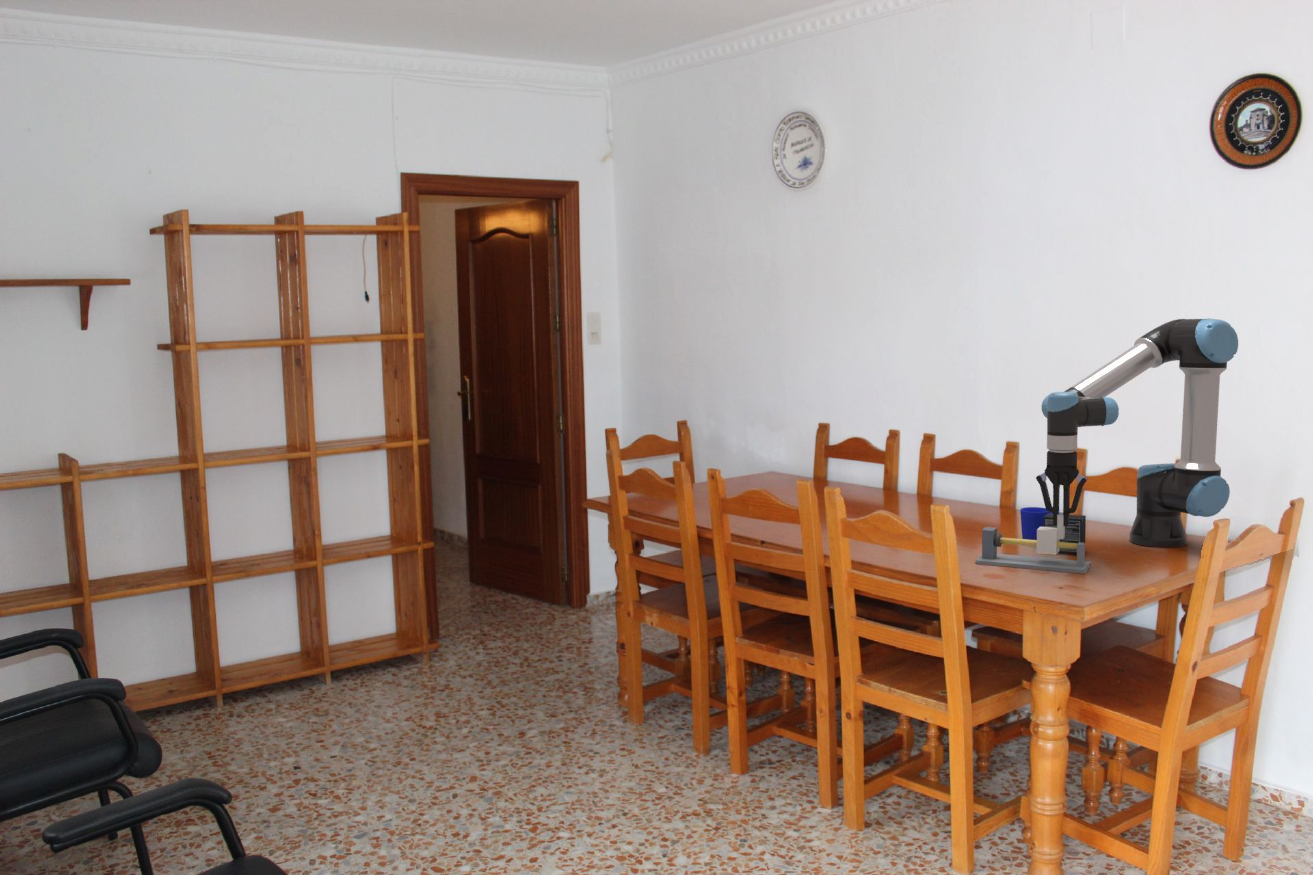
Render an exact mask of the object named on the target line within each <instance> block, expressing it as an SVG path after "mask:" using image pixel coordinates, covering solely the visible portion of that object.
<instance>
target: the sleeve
mask: <svg viewBox="0 0 1313 875" xmlns="http://www.w3.org/2000/svg"><path fill="white" fill-rule="evenodd" d="M1059 540H1060V539H1057V528H1053V527H1039V528H1038V529H1037V546H1036V554H1044V555H1055V556H1056V555H1057V554H1059V553H1058V552H1059V548H1057V542H1059Z"/></svg>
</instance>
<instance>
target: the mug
mask: <svg viewBox="0 0 1313 875" xmlns="http://www.w3.org/2000/svg"><path fill="white" fill-rule="evenodd" d="M1019 511H1020V524H1021V539H1027V540H1037V529H1038V528H1039V527H1044V516H1045V515H1047V514H1048V513H1050V514H1053V513H1052V512H1049V511H1046V508H1045V507H1038V506H1028V507H1027V506H1026V507H1022V508H1021V507H1020V510H1019ZM1059 513H1063V511H1062V512H1061V511H1059Z"/></svg>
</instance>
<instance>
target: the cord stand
mask: <svg viewBox="0 0 1313 875" xmlns="http://www.w3.org/2000/svg"><path fill="white" fill-rule="evenodd" d="M1003 544H1004V545H1005V544H1006V545H1015V546H1016V545H1017V546H1018V545H1020V546H1030V547H1031V546H1032V547H1037V540H1027V539H1022V538H1013V537H1012V538H1011V537H1003V535H1002V533H998V527H991V526H985V527H983V529H982V530H981V555H980V556H979V557H977V559H975V565H985V566H996V567H1007V568H1015V569H1016V568H1019V569H1028V570H1038V571H1039V570H1041V571H1050V572H1060V573H1061V572H1062V573H1063V572H1064V573H1070V574H1072V573H1073V574H1083V575H1084V574H1086V572H1087V571H1088V570H1089V568H1090V567H1091V565H1092V563H1091V562H1092V561H1087V560H1086V558H1085V557H1086V556H1085V555H1086V554H1085V553H1086V542H1085V543H1080V542H1079V543H1065V542H1057V548H1065V549H1077V555H1076V560H1074V559H1065V558H1053V557H1052V558H1051V557H1049V558H1048V557H1040V556H1030V555H1029V556H1028V555H1017V554H1016V555H1015V554H1007V553H1006V554H1005V553H1004V554H1003V553H998V547H999V548H1001V547H1002V545H1003Z"/></svg>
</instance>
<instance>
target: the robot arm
mask: <svg viewBox="0 0 1313 875" xmlns="http://www.w3.org/2000/svg"><path fill="white" fill-rule="evenodd" d="M1238 349H1239V337H1238V334H1237V332H1236V330H1235V328H1234V327H1232V326H1231V324H1230V323H1229V322H1227V321H1225V320H1223V319H1215V318H1210V317H1209V318H1187V319H1186V318H1176V319H1173V320H1169V321H1167V322H1165V323H1163V324H1161V325H1159V326H1157V327H1155V328H1153V329H1152V330H1150V331H1148V332H1146V333H1145V334H1143V335H1142V336H1140V337H1138V338H1137V339H1136V340H1135V341H1134V344H1133V346H1132V347H1130V348H1128V349H1127V350H1125V351H1124V352H1122V353H1121V354H1119V355H1118V356H1117V357H1115V358H1113V359H1111V360H1110V361H1109V362H1107V363H1106V364H1104V365H1103V366H1101V367H1099V368H1098V369H1097V370H1095V371H1094V372H1092V373H1091V374H1089V375H1087V376H1086V377H1083V379H1081V380H1080V381H1078V382H1076V383H1075V384H1073V385H1072V386H1070V387H1069V388H1068V389H1065V390H1064V391H1054V392H1050V393H1049V394H1048V395H1046V396H1045V397H1044V399H1043V400H1042V402H1041V412H1042V415H1043V416H1044V417H1045V418H1046V423H1047V424H1046V432H1047V433H1046V449H1047V450H1048V451H1047V452H1046V468H1045V469H1044V472H1043V473H1041V474H1038V475H1037V476H1036V477H1035V479H1036V481H1037V483H1038V484H1039V487H1040V491H1041V495H1042V499H1043V503H1044V508H1046V511H1049V512H1052V513H1053V525H1054V526H1057V539H1064V537H1065V526H1068V525H1069V515H1071V514H1074V513H1076V511H1077V509H1078V508H1079V507H1078V506H1079V502H1080V499H1081V496H1082V491H1083V488H1084V485H1085V484H1086V483H1087V481H1088V477H1087V476H1083V475H1082V474H1081V473H1080V471H1079V469H1078V452H1077V451H1076V450H1078V433H1079V432H1078V431H1079V430H1078V428H1082V427H1099V426H1100V427H1104V426H1110V425H1113V424H1114V423H1115V422H1116V421H1117V420H1118V417H1119V416H1120V415H1119V414H1120V412H1119V410H1120V408H1119V405H1118V403H1117V401H1116V400H1115V399H1114V398H1112V397H1107V396H1109V395H1111V394H1112V393H1113V392H1115V391H1116V390H1118V389H1120V388H1121V387H1123V386H1124V385H1125V384H1127V383H1128V382H1130V381H1132V380H1133V379H1135V378H1136V377H1138V376H1140V375H1141V374H1143V373H1145V371H1147V370H1148V369H1150V368H1151V369H1155V368H1158V367H1160V366H1161V365H1163V364H1165V363H1168V362H1174V361H1178V363H1179V365H1178V366H1179V370H1180V371H1181V372H1182V373H1183V374H1184V385H1183V386H1184V389H1183V405H1182V406H1183V408H1182V421H1181V422H1182V424H1181V426H1182V427H1181V443H1180V444H1181V446H1180V460H1178V462H1177V463H1170V462H1169V463H1156V464H1155V463H1154V464H1144V465H1141V466H1139V467H1138V469H1137V474H1136V475H1137V477H1136V516H1135V518H1134V521H1133V524H1132V526H1131V529H1130V532H1129V542H1130V543H1132V544H1135V545H1139V546H1144V547H1150V548H1178V547H1184V546H1186V545H1188V535H1187V533H1186V529H1185V526H1184V523H1183V520H1182V513H1183V514H1188V515H1191V516H1193V517H1202V518H1209V517H1213V516H1216V515H1217V514H1219V513H1220V512H1221V511H1222V510H1223V509H1224V508H1225V507H1226V505H1227V504H1228V502H1229V499H1230V494H1231V490H1230V484H1228V483H1227V480H1226V479H1225V478H1223V477H1222V475H1221V474H1222V473H1221V472H1222V467H1220V465H1219V464H1217V462H1216V452H1217V437H1218V436H1217V435H1218V434H1217V433H1218V432H1217V431H1218V418H1219V416H1218V415H1219V400H1220V399H1219V398H1220V381H1221V375H1222V373H1223V372H1225V371H1226V370H1227V369H1228V368H1227V366H1228V362H1230V361H1231V360H1232V359H1233V358H1234V357H1235V356H1234V355H1236V354H1237V352H1238ZM1047 479H1048V480H1049V481H1050V483H1051V484H1052V501H1051V498H1050V493H1049V488H1048V485H1047ZM1075 480H1076V483H1077V485H1076V489H1075V492H1074V496H1073V500H1072V503H1071V502H1070V498H1071V496H1070V493H1071V492H1070V490H1071V484H1073V482H1074V481H1075ZM1061 486H1062V489H1063V498H1062V500H1063V502H1062V504H1063V505H1062V506H1063V509H1062V513H1059V512H1061V511H1060V489H1061V488H1060V487H1061ZM1070 504H1071V507H1070Z"/></svg>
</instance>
